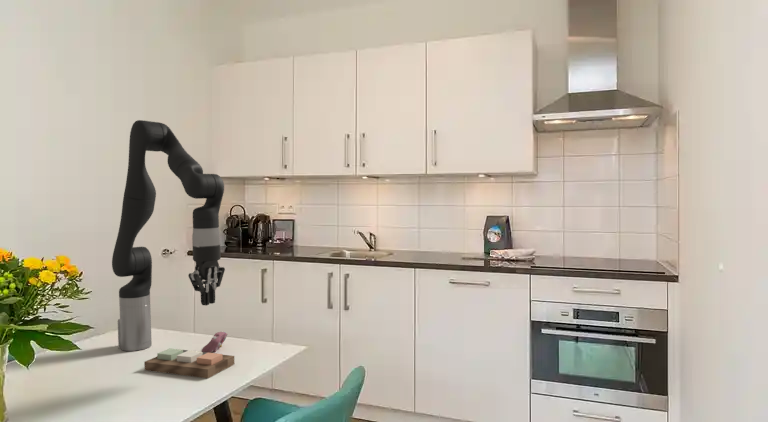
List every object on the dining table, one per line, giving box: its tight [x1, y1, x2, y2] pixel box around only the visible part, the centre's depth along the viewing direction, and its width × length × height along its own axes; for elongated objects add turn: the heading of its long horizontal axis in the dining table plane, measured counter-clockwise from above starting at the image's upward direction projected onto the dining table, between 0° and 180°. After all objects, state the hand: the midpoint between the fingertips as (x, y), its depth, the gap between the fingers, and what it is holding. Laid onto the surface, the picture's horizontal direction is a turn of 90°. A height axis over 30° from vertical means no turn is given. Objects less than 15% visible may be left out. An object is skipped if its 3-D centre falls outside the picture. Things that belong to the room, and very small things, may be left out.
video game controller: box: [200, 331, 228, 353], centre depth 166 cm, size 10×5×7 cm, turn 179°
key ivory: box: [177, 350, 203, 363], centre depth 150 cm, size 5×5×2 cm
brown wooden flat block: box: [143, 349, 235, 379], centre depth 150 cm, size 22×12×3 cm, turn 71°
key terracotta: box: [197, 352, 224, 365], centre depth 147 cm, size 5×5×2 cm
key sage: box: [156, 348, 184, 360], centre depth 152 cm, size 5×5×2 cm
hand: (208, 303), depth 147 cm, fingers closed
